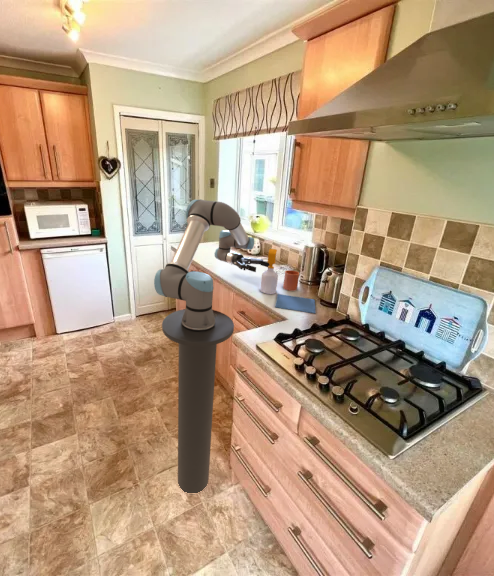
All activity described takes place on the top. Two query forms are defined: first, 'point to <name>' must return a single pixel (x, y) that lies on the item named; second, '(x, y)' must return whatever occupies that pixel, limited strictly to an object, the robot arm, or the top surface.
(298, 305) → the blue mat
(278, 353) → the top surface
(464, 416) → the top surface
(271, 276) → the soap bottle
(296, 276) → the terracotta cup
